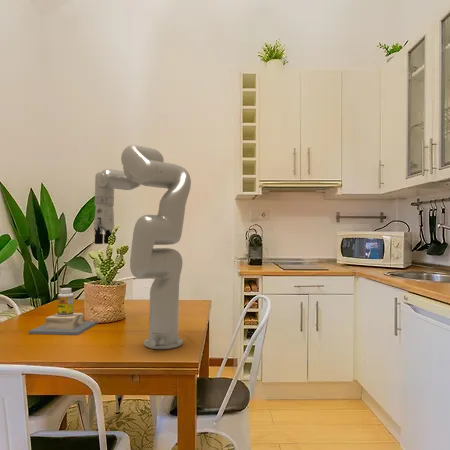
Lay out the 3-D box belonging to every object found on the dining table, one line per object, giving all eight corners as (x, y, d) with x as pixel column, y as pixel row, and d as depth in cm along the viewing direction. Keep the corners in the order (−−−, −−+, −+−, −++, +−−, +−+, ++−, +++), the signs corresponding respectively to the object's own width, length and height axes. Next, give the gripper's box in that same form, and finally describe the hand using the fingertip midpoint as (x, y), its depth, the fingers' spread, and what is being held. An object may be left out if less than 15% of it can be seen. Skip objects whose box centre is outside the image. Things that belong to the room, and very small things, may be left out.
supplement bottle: (54, 315, 144) (54, 288, 144) (66, 313, 149) (67, 287, 149) (63, 317, 141) (64, 289, 141) (76, 315, 146) (77, 288, 146)
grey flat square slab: (77, 335, 135) (77, 332, 135) (28, 333, 136) (28, 330, 136) (97, 323, 153) (97, 321, 153) (54, 322, 154) (54, 320, 154)
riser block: (71, 329, 140) (71, 318, 140) (45, 328, 140) (45, 317, 140) (83, 323, 150) (83, 313, 150) (58, 322, 150) (59, 312, 150)
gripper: (105, 200, 148) (104, 244, 147) (120, 204, 165) (119, 243, 165) (86, 200, 148) (85, 244, 148) (103, 204, 166) (102, 243, 165)
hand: (103, 243), depth 156 cm, fingers open, 9 cm apart
